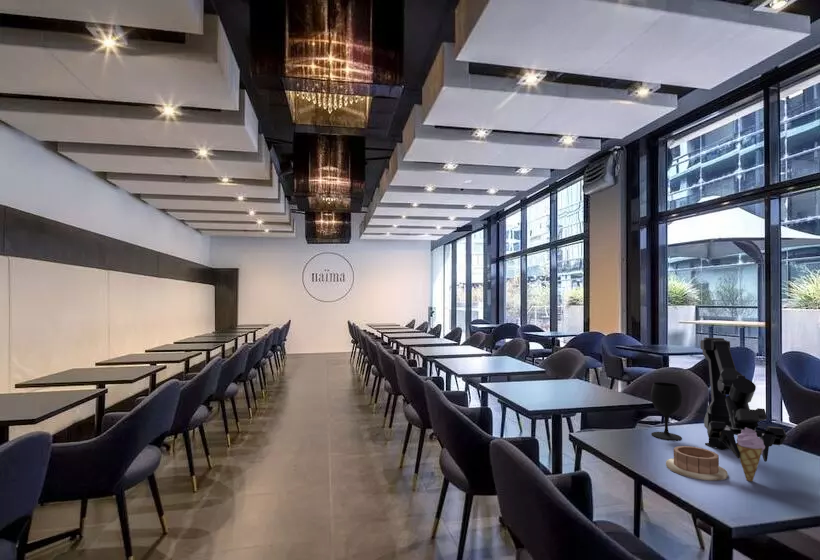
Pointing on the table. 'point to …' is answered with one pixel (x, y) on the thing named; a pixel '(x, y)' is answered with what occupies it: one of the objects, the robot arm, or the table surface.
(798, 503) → the table surface
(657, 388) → the wine glass
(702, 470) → the cone stand
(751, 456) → the ice cream cone
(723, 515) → the table surface
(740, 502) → the table surface
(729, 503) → the table surface
